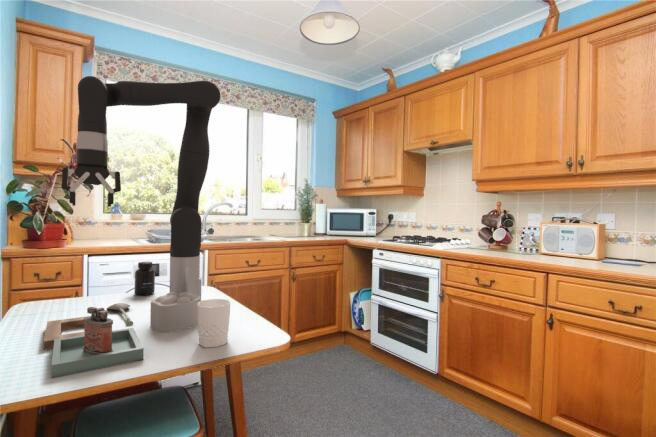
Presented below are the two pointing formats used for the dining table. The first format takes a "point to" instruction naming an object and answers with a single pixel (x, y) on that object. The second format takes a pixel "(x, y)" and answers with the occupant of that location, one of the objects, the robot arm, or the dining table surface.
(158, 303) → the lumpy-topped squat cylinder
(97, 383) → the dining table surface
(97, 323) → the lighter
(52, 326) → the holder
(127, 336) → the tray
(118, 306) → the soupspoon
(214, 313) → the white cup
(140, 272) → the supplement bottle
